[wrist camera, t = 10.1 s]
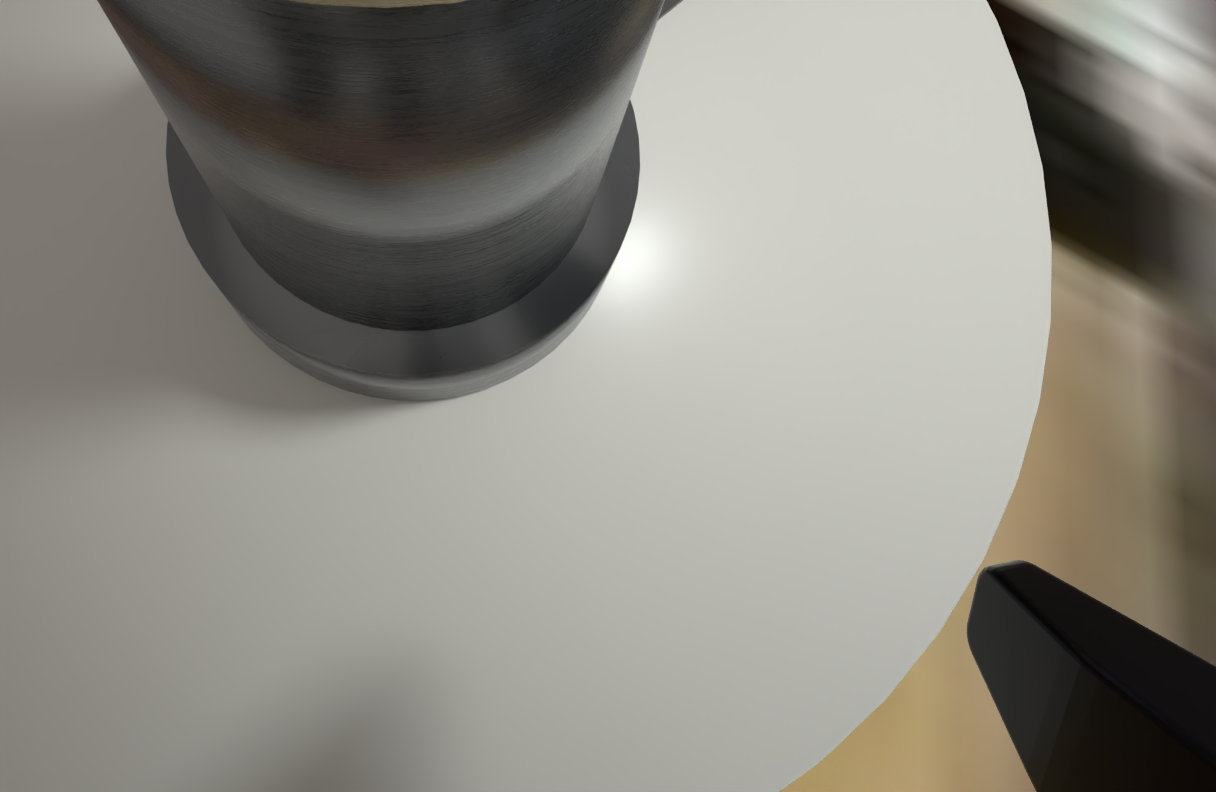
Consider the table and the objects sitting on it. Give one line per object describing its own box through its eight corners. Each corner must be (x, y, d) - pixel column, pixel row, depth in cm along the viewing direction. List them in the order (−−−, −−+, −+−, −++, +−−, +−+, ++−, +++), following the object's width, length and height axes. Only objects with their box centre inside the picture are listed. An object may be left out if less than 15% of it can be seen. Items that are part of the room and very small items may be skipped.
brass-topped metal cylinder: (394, 489, 16) (276, 263, 5) (109, 172, 16) (-560, -654, 6) (700, 221, 17) (1088, -374, 7) (433, -63, 18) (405, -1065, 7)
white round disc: (344, 1251, 15) (335, 1302, 14) (-630, 129, 16) (-706, 95, 15) (1245, 279, 20) (1290, 262, 19) (469, -525, 21) (470, -586, 20)
